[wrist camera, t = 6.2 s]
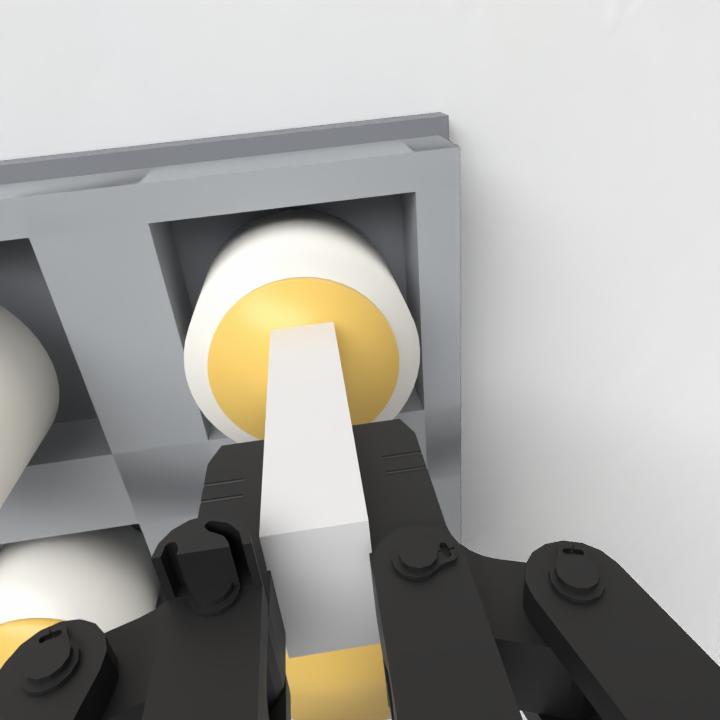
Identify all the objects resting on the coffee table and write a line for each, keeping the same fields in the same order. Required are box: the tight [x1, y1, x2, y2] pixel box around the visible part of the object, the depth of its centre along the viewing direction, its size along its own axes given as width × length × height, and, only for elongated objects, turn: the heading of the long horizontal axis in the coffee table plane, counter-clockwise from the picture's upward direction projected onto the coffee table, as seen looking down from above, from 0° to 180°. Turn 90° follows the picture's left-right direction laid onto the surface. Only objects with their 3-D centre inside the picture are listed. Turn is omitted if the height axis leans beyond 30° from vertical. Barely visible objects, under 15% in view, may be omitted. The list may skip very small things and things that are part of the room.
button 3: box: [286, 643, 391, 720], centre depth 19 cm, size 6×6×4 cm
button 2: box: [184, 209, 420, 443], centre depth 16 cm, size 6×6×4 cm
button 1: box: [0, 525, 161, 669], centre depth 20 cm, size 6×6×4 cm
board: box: [0, 112, 461, 609], centre depth 20 cm, size 25×20×3 cm
